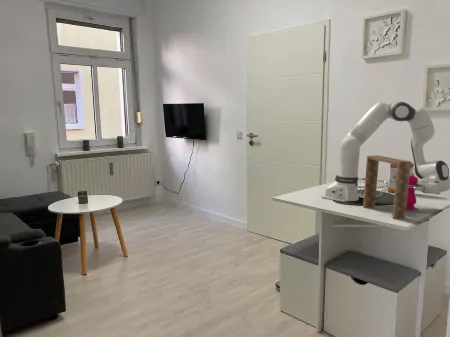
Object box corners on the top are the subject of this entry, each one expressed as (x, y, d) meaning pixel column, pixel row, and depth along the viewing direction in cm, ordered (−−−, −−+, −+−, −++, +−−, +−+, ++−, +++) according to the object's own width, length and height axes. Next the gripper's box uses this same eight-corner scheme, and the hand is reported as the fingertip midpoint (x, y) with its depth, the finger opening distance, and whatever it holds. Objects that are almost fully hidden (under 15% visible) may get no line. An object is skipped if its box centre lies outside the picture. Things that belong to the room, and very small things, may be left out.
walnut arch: (393, 219, 189) (399, 162, 184) (363, 207, 211) (367, 155, 206) (405, 217, 192) (410, 161, 187) (373, 206, 213) (377, 155, 208)
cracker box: (387, 192, 248) (390, 161, 244) (386, 190, 253) (389, 160, 250) (410, 194, 244) (414, 163, 240) (409, 192, 249) (412, 161, 246)
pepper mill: (411, 210, 202) (416, 174, 199) (398, 207, 208) (403, 172, 204) (417, 209, 206) (422, 173, 203) (404, 206, 212) (409, 171, 209)
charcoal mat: (395, 210, 205) (396, 209, 205) (397, 206, 214) (397, 205, 214) (418, 213, 200) (418, 212, 199) (418, 208, 209) (418, 207, 209)
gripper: (413, 176, 218) (394, 177, 213) (443, 183, 199) (424, 185, 195) (411, 187, 219) (393, 188, 215) (442, 195, 200) (423, 196, 196)
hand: (408, 187), depth 204 cm, fingers open, 7 cm apart
